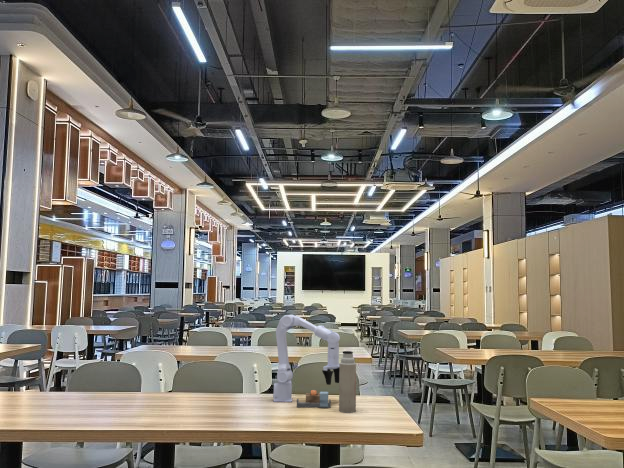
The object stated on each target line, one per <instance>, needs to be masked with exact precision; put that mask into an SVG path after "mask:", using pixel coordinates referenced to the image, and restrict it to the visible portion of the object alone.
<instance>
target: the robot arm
mask: <svg viewBox="0 0 624 468" xmlns="http://www.w3.org/2000/svg"><path fill="white" fill-rule="evenodd" d="M295 326H297V327H298V326H300V327H301V328H302V327H303V328H305V329H307V330H309V331H312V332H313V333H314V336H315V337H318V338H319V339H322V340H324V341H326V342H327V364H326V365H324V366H323V367H322V368H323V369H322V370H321V371H322V372H321V373H323V375H324V379H325V383H326V385H328V386H331V385H332V378H333V376H334V383H335V384H339V368H340V346H339V345H340V344H339V343H340V340H341V336H340V334H339V333H338V332H336V331H333V330H332V329H328V328H326V327H325V325H315V324H313V323H311V322H310V321H308V320H305V319H304V318H302V317H301V316H298V315H295V314H292V313H289V314H285V315H283V316H282V317H281V318H280V319H279V321H278V324H277V326H276V329H275V337H276V347H277V357H278V368H277V374H276V380H277V382H274V384H273V394H272V395H273V396H272V398H273V402H274V403H275V402H277V403H279V402H281V403H283V402H284V403H285V402H286V403H291V402H293V398H292V394H293V391H292V390H293V389H292V388H293V383H292V380H293V377H294V373H293V371H292V369H291V367H292V366H291V364H290V362H289V361H290V360H289V353H288V342H287V341H288V340H287V332H288V331H289V330H290V329H291V328H292V327H295Z"/></svg>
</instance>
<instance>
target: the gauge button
mask: <svg viewBox="0 0 624 468" xmlns="http://www.w3.org/2000/svg"><path fill="white" fill-rule="evenodd" d="M310 393H311V395H317V393H318V391H317V390H316V389H312V390H310Z"/></svg>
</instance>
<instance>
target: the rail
mask: <svg viewBox="0 0 624 468" xmlns="http://www.w3.org/2000/svg"><path fill="white" fill-rule="evenodd" d="M296 408H308V409H309V408H310V409H311V408H312V409H313V408H315V409H321V408H322V409H331V408H332V400H331V399H330V398H328V407H320V402H306V401H300V400H299V398H296Z"/></svg>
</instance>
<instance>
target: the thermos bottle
mask: <svg viewBox="0 0 624 468" xmlns="http://www.w3.org/2000/svg"><path fill="white" fill-rule="evenodd" d="M353 353H354V351H351V350H344V351H342V357H341V358H340V362H339V364H340V368H339V383H338V384H339V385H338V387H339V388H338V395H339V396H338V411H339V412H340V413H346V414H348V413H349V414H350V413H352V414H353V413H355V412H357V408H356V407H357V363H356V360H355V358H354V355H353Z"/></svg>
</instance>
